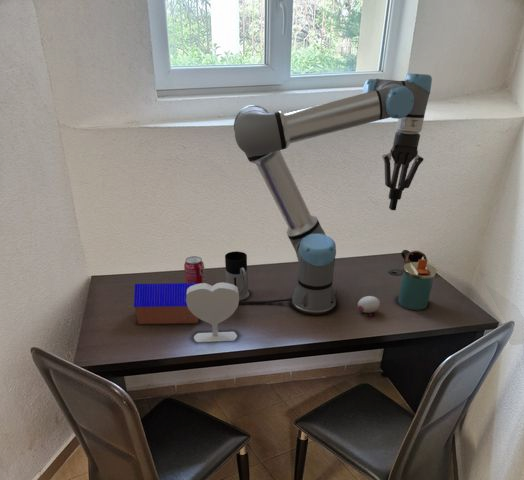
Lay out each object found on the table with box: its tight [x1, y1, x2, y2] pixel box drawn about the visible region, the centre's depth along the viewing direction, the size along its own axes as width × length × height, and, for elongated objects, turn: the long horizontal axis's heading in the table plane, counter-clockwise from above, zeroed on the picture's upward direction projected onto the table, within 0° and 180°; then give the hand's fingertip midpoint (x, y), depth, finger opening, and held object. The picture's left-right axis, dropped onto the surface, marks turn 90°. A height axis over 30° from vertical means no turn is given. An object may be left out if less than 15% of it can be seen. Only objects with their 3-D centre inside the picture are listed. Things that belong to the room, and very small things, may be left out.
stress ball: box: [357, 295, 381, 317], centre depth 156 cm, size 8×8×7 cm
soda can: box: [183, 255, 206, 284], centre depth 166 cm, size 7×7×12 cm
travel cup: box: [397, 261, 437, 311], centre depth 158 cm, size 11×11×14 cm
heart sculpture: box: [186, 282, 240, 343], centre depth 139 cm, size 16×5×18 cm, turn 94°
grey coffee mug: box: [224, 250, 250, 301], centre depth 160 cm, size 9×14×15 cm, turn 20°
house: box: [133, 282, 200, 325], centre depth 152 cm, size 12×20×12 cm, turn 92°
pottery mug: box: [401, 249, 428, 264], centre depth 183 cm, size 12×10×8 cm
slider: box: [417, 259, 429, 274], centre depth 151 cm, size 4×3×3 cm
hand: (392, 209), depth 155 cm, fingers closed
